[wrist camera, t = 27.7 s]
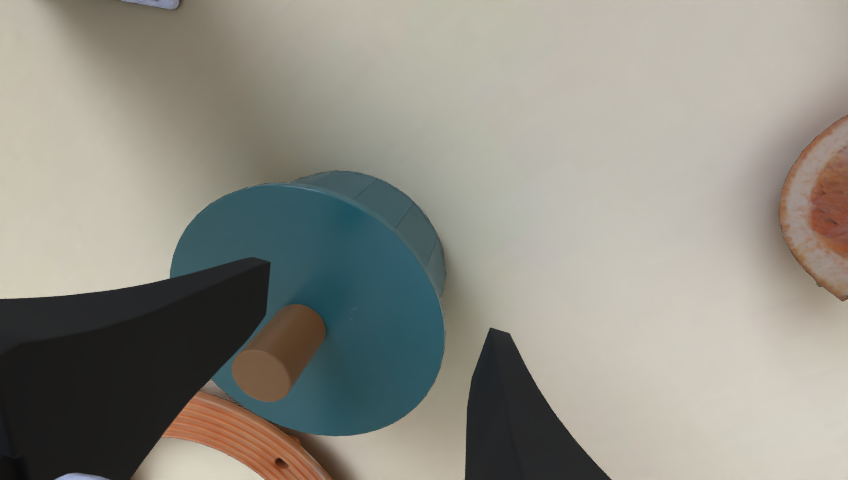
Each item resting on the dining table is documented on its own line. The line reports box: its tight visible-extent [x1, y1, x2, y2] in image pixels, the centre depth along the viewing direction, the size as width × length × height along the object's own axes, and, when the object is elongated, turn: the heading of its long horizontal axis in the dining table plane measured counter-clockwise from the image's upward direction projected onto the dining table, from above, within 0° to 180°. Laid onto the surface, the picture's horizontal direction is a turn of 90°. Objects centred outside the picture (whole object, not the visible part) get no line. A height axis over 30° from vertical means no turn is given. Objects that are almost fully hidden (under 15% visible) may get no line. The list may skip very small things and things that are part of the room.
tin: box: [291, 171, 446, 298], centre depth 21 cm, size 11×11×6 cm
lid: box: [170, 182, 446, 436], centre depth 17 cm, size 13×13×4 cm
